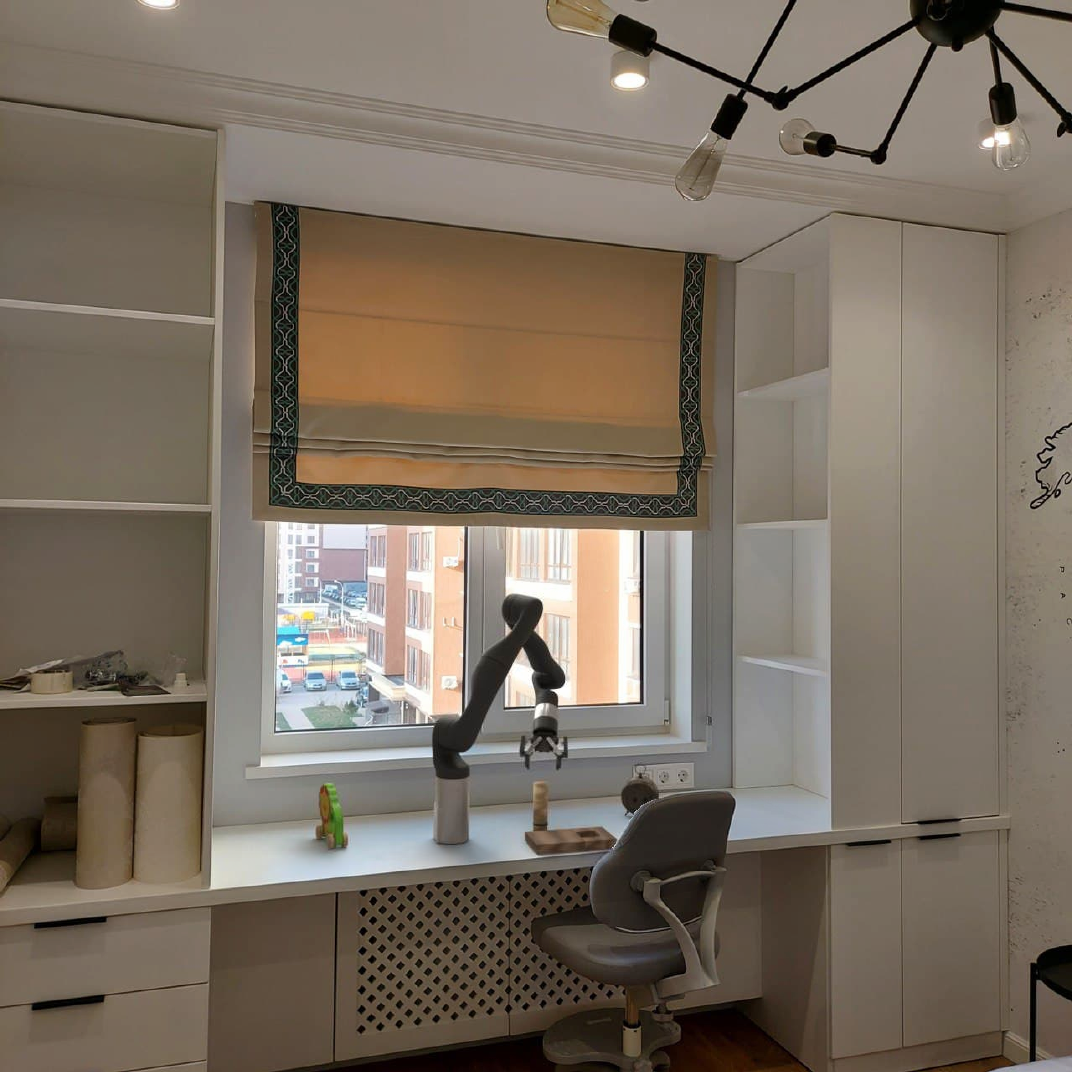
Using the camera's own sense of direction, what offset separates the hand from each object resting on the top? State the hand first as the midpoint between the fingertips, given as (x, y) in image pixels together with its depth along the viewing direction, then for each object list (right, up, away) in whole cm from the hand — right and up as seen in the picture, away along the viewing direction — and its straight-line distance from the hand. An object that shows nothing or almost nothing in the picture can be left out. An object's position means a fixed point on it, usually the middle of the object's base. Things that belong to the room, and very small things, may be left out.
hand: (542, 768), depth 273 cm
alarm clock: (+29, -17, +6) cm, 34 cm away
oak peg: (-1, -16, -10) cm, 19 cm away
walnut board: (+7, -15, -20) cm, 27 cm away
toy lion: (-57, -15, -20) cm, 63 cm away
